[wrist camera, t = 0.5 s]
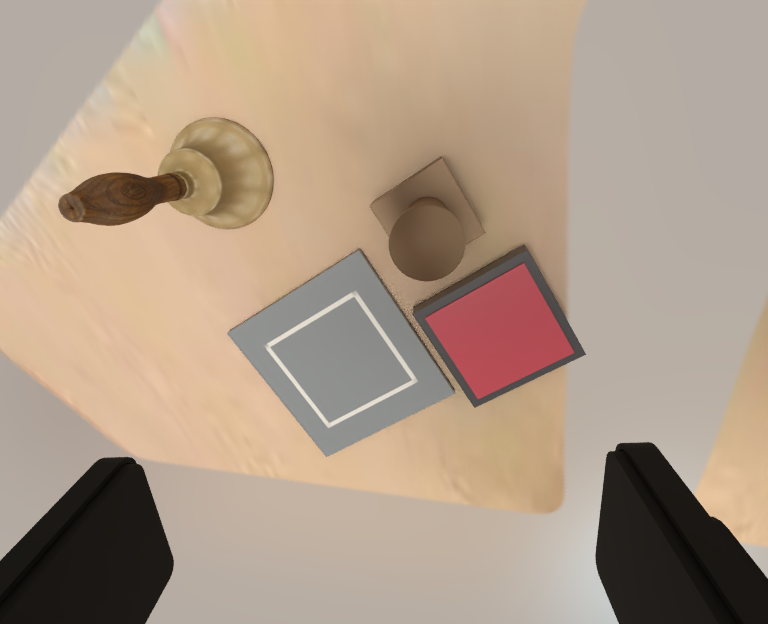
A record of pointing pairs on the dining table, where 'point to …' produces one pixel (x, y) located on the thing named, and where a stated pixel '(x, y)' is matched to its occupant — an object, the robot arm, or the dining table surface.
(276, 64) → the dining table surface
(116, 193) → the hand bell
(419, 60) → the dining table surface
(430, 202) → the stamp
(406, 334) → the board
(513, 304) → the ink pad
